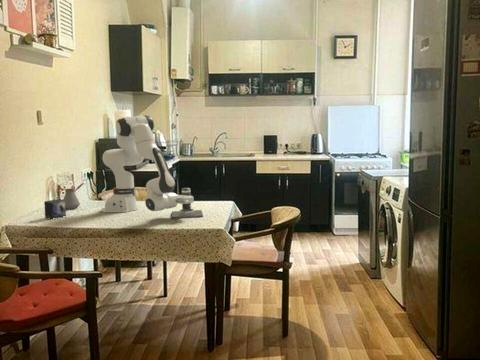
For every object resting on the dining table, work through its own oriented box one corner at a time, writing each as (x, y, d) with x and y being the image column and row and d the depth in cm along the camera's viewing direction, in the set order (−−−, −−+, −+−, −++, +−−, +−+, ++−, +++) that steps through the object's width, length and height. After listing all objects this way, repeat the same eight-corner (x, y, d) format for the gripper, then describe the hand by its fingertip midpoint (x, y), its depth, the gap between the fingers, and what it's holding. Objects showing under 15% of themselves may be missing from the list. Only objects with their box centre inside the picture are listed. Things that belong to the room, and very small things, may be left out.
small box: (51, 219, 285) (50, 202, 284) (44, 218, 289) (43, 201, 287) (66, 216, 294) (65, 199, 293) (59, 215, 297) (58, 198, 296)
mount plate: (171, 218, 280) (171, 213, 280) (171, 213, 296) (171, 208, 295) (202, 217, 282) (202, 211, 282) (201, 211, 298) (201, 206, 298)
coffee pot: (72, 210, 313) (71, 187, 310) (57, 209, 316) (56, 187, 314) (92, 204, 333) (91, 182, 331) (78, 203, 336) (76, 182, 334)
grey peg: (182, 209, 286) (181, 189, 284) (182, 207, 291) (181, 188, 289) (191, 209, 286) (190, 188, 285) (191, 207, 292) (190, 187, 290)
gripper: (183, 196, 271) (200, 192, 282) (158, 193, 283) (175, 190, 294) (183, 207, 272) (200, 203, 282) (158, 203, 284) (175, 200, 295)
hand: (187, 196), depth 288 cm, fingers closed on grey peg, 5 cm apart
